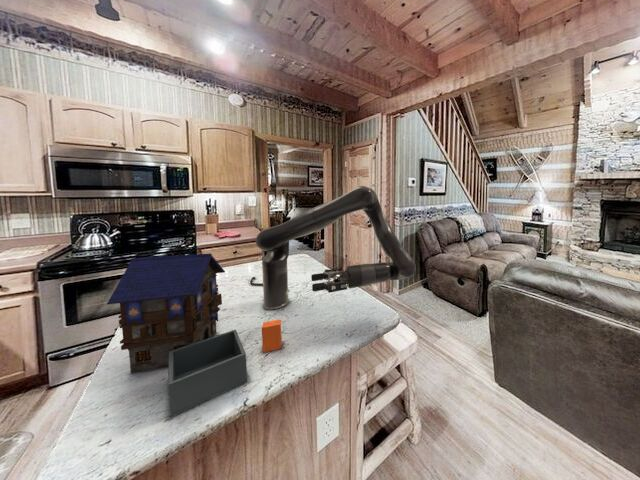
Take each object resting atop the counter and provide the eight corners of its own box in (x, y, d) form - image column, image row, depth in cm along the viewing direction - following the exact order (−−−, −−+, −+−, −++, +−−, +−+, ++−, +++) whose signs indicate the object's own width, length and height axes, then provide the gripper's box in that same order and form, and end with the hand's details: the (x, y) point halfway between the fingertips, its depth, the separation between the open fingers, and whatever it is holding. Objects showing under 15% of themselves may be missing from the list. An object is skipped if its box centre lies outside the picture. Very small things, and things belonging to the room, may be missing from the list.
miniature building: (207, 366, 71) (200, 263, 69) (110, 382, 65) (100, 270, 63) (233, 328, 89) (229, 245, 87) (160, 338, 83) (153, 249, 81)
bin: (171, 379, 66) (168, 351, 66) (237, 353, 76) (235, 329, 76) (170, 417, 56) (168, 385, 55) (247, 381, 66) (245, 353, 65)
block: (264, 346, 80) (263, 322, 79) (281, 342, 82) (281, 319, 81) (262, 352, 77) (261, 327, 76) (281, 348, 79) (280, 324, 78)
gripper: (356, 259, 95) (310, 264, 88) (365, 271, 82) (312, 279, 75) (357, 278, 95) (311, 285, 89) (365, 294, 82) (312, 303, 76)
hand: (311, 282), depth 82 cm, fingers open, 8 cm apart
